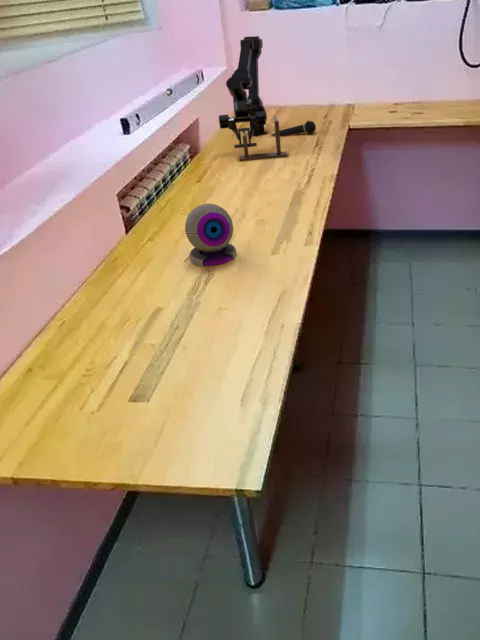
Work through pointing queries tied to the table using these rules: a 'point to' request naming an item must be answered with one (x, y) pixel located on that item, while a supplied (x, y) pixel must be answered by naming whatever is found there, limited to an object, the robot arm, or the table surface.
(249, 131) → the black piece
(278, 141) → the rack
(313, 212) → the table surface
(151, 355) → the table surface
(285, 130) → the microphone
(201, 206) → the webcam
